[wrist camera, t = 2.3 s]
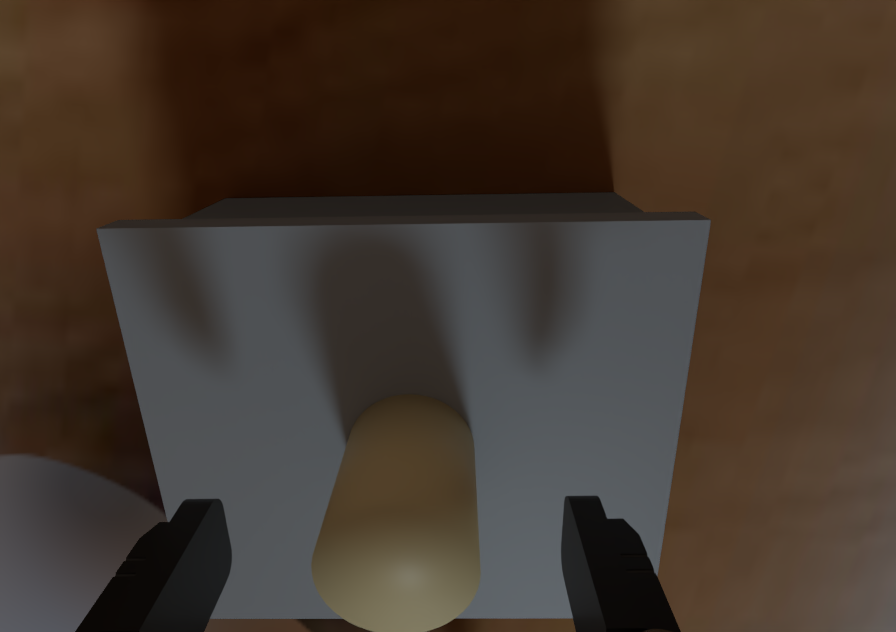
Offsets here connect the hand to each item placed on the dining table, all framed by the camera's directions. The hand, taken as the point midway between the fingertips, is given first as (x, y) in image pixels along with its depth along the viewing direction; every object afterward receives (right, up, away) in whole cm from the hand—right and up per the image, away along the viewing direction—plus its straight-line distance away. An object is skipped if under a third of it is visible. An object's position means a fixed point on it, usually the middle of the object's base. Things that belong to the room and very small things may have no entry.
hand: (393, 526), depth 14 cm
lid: (0, +2, +4) cm, 4 cm away
